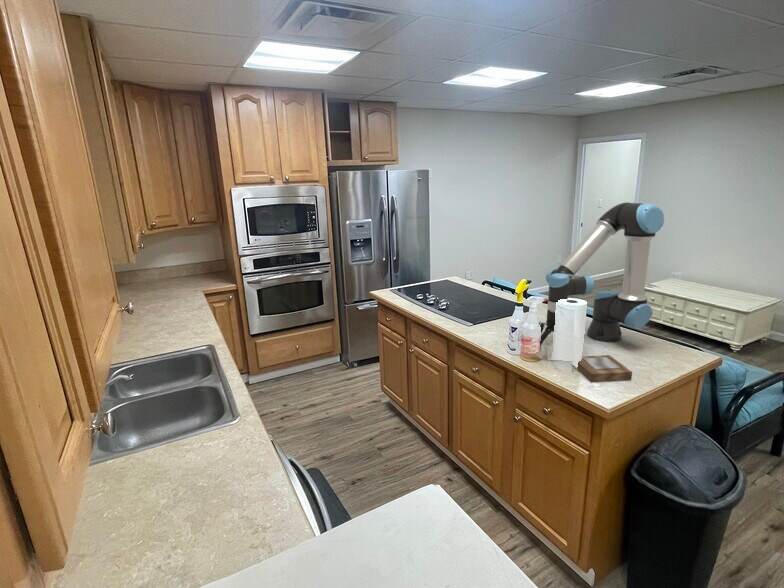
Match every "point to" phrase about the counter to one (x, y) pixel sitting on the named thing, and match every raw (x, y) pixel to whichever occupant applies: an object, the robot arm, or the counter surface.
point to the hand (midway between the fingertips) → (552, 357)
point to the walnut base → (603, 369)
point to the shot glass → (549, 349)
